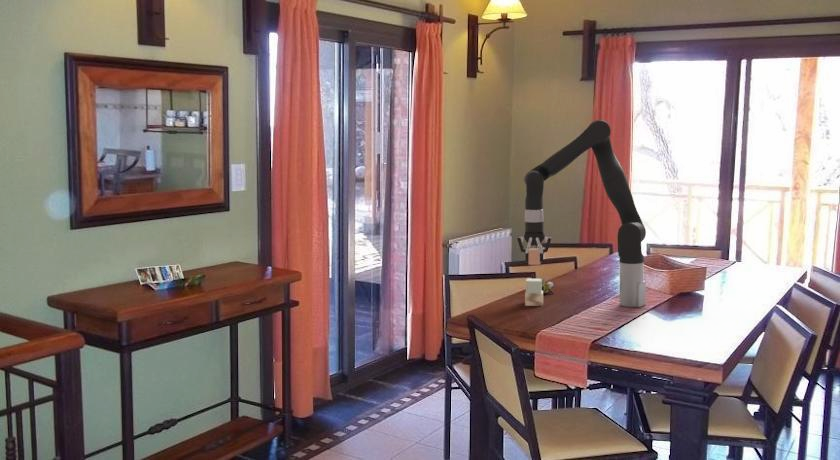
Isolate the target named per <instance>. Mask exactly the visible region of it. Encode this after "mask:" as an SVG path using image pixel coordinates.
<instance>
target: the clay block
mask: <svg viewBox="0 0 840 460" xmlns="http://www.w3.org/2000/svg"><path fill="white" fill-rule="evenodd" d="M528 265H529V266H530V265H534V266H535V265H536V266H537V265H538V266H540V265H541V263H540V250H539V247H537V248H535V247H532V248H531V247H530V249H529V263H528Z"/></svg>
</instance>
